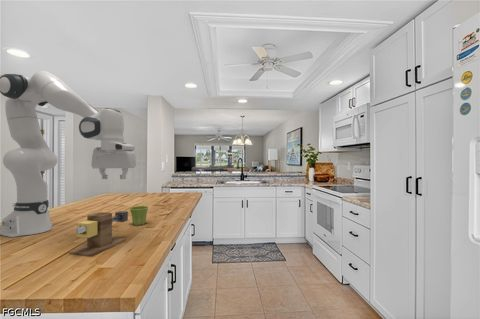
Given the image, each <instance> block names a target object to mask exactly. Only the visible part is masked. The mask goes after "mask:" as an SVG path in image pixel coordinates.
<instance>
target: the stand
mask: <svg viewBox="0 0 480 319" xmlns="http://www.w3.org/2000/svg"><path fill="white" fill-rule="evenodd" d="M112 217H113V213H112V212H101V211H99V212H95V213H91V214H88V215H87V216H86V218H87V220H88V221H98V228H97V235H95V236H92V237H90V238H86V244H84V245H81V246H80V247H78V248H75V249H73V250H69V251H68V254H69V255H75V256H76V255H77V256H83V257H84V256H85V257H95V256H96V255H99V254H100V253H102V252H105V251H107V250H109V249H111V248H113V247H116V246H117V245H120V244H121V243H123V242H126V241H127V238H124V237H123V238H122V237H116V236H115V237H113V222H112Z"/></svg>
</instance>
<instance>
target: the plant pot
mask: <svg viewBox="0 0 480 319" xmlns="http://www.w3.org/2000/svg"><path fill="white" fill-rule="evenodd" d="M148 210H149V206H148V205H147V206H146V205H137V206H132V207H129V212H130V214H131V222H132V225H134V226H140V225H141V226H142V225H146V220H147V214H148Z"/></svg>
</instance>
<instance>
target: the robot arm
mask: <svg viewBox="0 0 480 319" xmlns="http://www.w3.org/2000/svg"><path fill="white" fill-rule="evenodd" d="M0 94H1V95H2V96H4V97H6V98H7V99H5V117H6V122H7V126H8V129H9V130H8V131H9V133H10V137H11V138H12V140H13V141H15V142H16V143H17V144H18V145H19V148H13V149H11V150H8V151H6V153H5V154H4V156H3V157H2V163H3V166H4V168H5V169H7V170H8V171H10V173H11V175H12V177H13V178H14V181H15V185H16V202H15V203H14V204H12V207H13V211H11V212H10V213H9V214H8V215H6V216H5V217H3V219H1V223H0V224H1V225H0V226H1V227H0V236H5V237H7V238H14V237H21V236H29V235H37V234H40V233H41V234H43V233H45V232H49V231H50V230H52V227H53V223H51V214H50V210H49V207H50V206H49V204H50V203H49V199H48V183H47V182H46V181H45V180H44V179H43V176H42V174H41V172H45V171H48V170H51V169H53V168H55V166H57V164H58V156H57V155H56V153H55V152H54V151H52V150H51V148H50V147H49V145H48V143H47V142H46V140H45V138H44V136H43V133H42V130H41V127H40V123H39V118H38V114H37V112H36V109H37V106H40V107H44V106H45V105H47V104H49V105H51V106H52V107H54V108H55V109H58V110H61V111H65V112H69V113H71V114H75V115H78V116H80V117H82V119H81V120H80V122H79V123H78V124H79V125H78V130H79V134H80V135H81V136H82V137H83V138H85V139H88V140H96V141H100V147H98V146H97V147H95V148H94V149H93V150H92V156H91V167H92V169H98V171H99V174H100V175H101V180H108V174H106V170H107V169H121V172H122V173H121V174H120V175H119V179H120V180H126V179H127V178H126V177H127V176H126V175H127V174H128V172H129V169H134V168H135V167H136V165H137V159H136V158H137V157H136V153H135V145H134V144H130V143H127V142H125V137H124V131H125V123H124V122H125V121H124V118H123V117H124V115H123V113H122V112H121V110H118V109H115V108H109V107H103V108H101V109H100V110H99V111H98V110H97V109H96V108H94V107H93V106H92V105H91V104H89V103H88V102H86V100H84V99H83V97H81V96H80V95H79V94H78V93H76V91H74V89H72V88H71V87H70V86H69V85H68V84H67V83H66V82H64V81H63V80H62V79H61V78H59V77H58V76H57V75H56V74H54V73H51V72H50V71H47V70H39V71H36V72H35V73H33V75H32V76H27V75H23V74H17V73H4V74H2V75H1V76H0Z"/></svg>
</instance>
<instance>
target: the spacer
mask: <svg viewBox="0 0 480 319" xmlns="http://www.w3.org/2000/svg"><path fill="white" fill-rule="evenodd" d="M76 224H77V225H76V228H78V227H82V226H87V231H86V232H83V233H80V234H77V233H76V236H77V238H84V239H85V238H86V239H87V238H90V237H92V236H95V235H97V224H98V221H88V220H83V221H79V222H77V223H76Z"/></svg>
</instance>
